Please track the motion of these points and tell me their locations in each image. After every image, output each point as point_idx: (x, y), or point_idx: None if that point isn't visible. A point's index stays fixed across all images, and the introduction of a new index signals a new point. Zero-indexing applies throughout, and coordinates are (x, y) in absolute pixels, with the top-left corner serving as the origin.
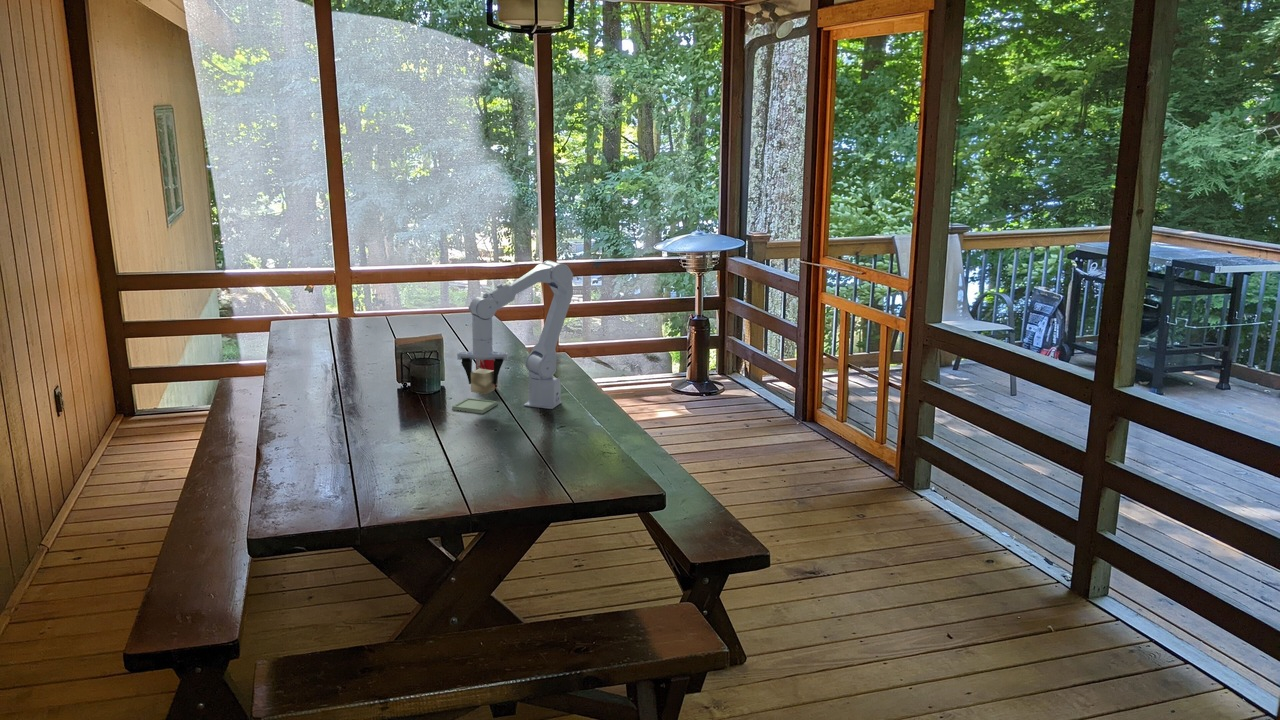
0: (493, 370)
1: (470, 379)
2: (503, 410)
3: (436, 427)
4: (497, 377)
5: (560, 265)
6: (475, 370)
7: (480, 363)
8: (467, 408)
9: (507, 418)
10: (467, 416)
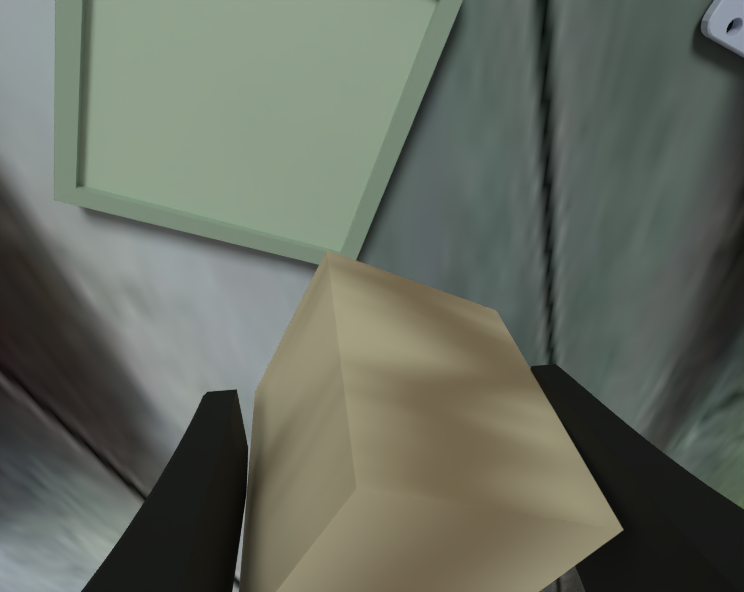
0: (606, 533)
1: (237, 517)
2: (501, 164)
3: (143, 483)
4: (603, 418)
5: None
6: (290, 586)
7: None
8: (218, 237)
9: (507, 326)
10: (253, 320)
